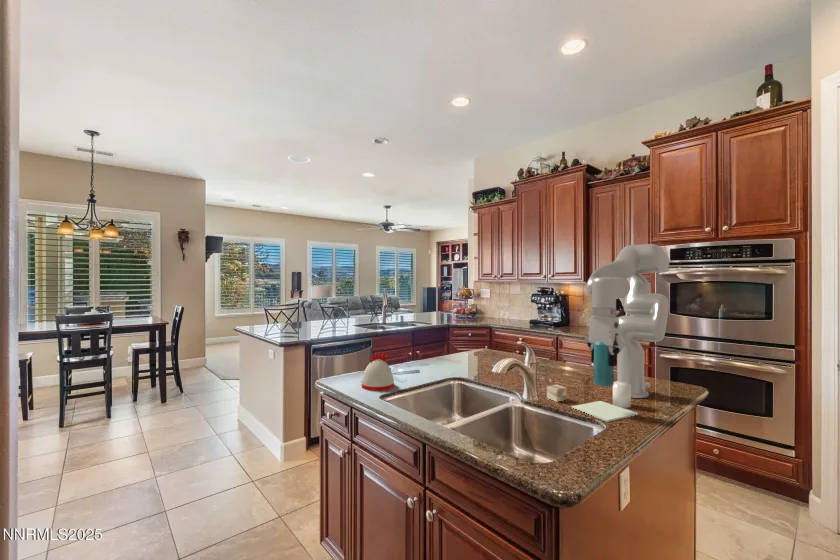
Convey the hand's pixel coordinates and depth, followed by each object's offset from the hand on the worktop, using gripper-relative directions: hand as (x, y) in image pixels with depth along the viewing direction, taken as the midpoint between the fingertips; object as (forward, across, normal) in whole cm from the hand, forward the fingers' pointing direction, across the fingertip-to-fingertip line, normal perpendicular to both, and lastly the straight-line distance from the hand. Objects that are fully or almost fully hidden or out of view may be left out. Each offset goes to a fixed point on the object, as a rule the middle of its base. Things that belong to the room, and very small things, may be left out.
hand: (603, 363), depth 134 cm
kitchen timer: (+17, +64, +61) cm, 90 cm away
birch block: (+17, +17, +5) cm, 25 cm away
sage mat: (+17, 0, 0) cm, 17 cm away
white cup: (+17, +2, -12) cm, 21 cm away
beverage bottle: (+9, 0, 0) cm, 9 cm away
